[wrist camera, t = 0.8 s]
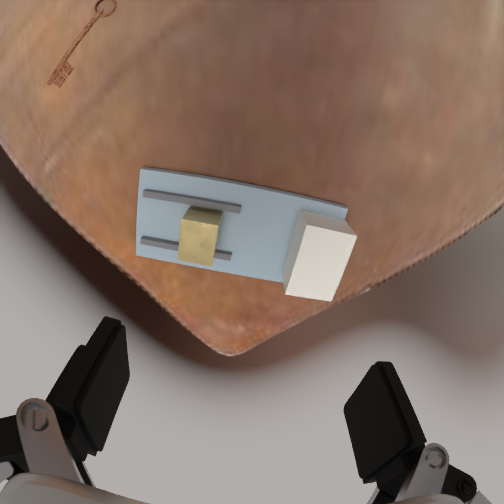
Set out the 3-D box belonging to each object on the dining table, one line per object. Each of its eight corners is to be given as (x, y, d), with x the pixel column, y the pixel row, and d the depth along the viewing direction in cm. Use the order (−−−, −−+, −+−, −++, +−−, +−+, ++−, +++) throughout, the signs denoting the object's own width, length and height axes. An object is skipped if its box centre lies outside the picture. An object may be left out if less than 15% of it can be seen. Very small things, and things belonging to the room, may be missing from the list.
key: (65, 95, 28) (131, 10, 23) (62, 96, 28) (129, 8, 23) (43, 78, 26) (105, -6, 21) (40, 78, 25) (103, -8, 20)
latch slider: (190, 205, 34) (181, 218, 29) (223, 210, 34) (218, 225, 30) (186, 242, 36) (177, 259, 32) (216, 247, 36) (211, 266, 32)
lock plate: (144, 166, 33) (137, 170, 31) (344, 205, 35) (350, 211, 33) (139, 250, 38) (133, 258, 36) (318, 282, 40) (321, 292, 38)
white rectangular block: (299, 209, 34) (306, 224, 30) (344, 220, 34) (357, 236, 30) (281, 272, 38) (285, 294, 34) (323, 279, 38) (331, 301, 34)
